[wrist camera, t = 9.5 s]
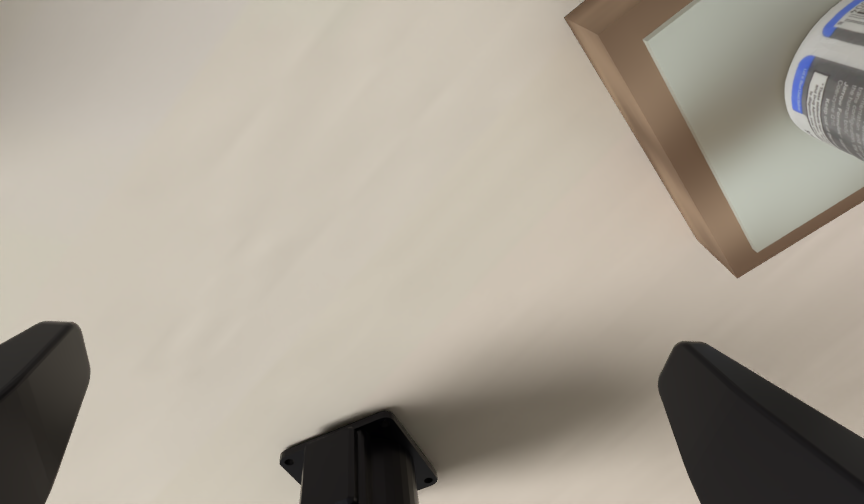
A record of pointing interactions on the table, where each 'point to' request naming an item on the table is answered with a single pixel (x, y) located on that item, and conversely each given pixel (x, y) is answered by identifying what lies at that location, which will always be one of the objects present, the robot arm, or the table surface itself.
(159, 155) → the table surface
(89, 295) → the table surface
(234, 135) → the table surface
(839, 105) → the pill bottle
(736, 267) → the pedestal
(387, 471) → the robot arm
